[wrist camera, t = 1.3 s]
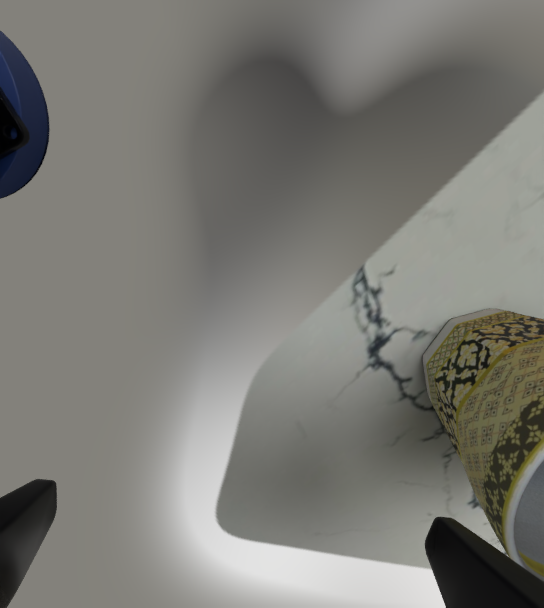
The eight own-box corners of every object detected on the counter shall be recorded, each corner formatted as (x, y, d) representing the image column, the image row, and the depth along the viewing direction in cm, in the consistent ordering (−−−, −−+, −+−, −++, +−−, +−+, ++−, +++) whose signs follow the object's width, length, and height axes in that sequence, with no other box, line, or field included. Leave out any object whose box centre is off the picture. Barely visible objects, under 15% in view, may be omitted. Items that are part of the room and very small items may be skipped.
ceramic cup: (379, 307, 20) (497, 418, 10) (556, 259, 19) (852, 327, 10) (412, 481, 24) (518, 676, 14) (558, 444, 23) (769, 620, 14)
